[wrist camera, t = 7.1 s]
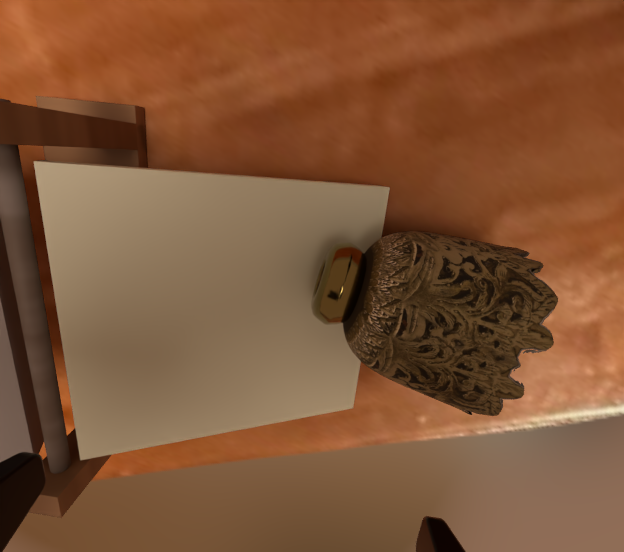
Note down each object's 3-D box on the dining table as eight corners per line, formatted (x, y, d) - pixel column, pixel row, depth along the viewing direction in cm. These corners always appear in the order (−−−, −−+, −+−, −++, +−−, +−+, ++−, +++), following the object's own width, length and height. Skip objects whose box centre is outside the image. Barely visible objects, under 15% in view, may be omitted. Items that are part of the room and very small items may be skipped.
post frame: (144, 107, 17) (-27, 65, 9) (160, 403, 23) (63, 530, 15) (49, 98, 18) (-194, 49, 10) (88, 393, 23) (-43, 512, 16)
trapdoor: (356, 180, 20) (389, 187, 17) (330, 375, 24) (352, 408, 21) (-261, 131, 11) (-415, 127, 8) (-133, 443, 16) (-205, 514, 13)
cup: (298, 324, 19) (431, 363, 20) (288, 400, 12) (497, 459, 13) (340, 193, 18) (485, 240, 18) (357, 193, 11) (595, 270, 11)
